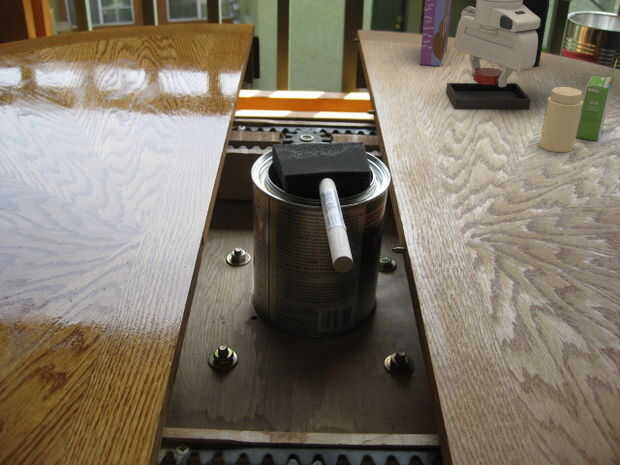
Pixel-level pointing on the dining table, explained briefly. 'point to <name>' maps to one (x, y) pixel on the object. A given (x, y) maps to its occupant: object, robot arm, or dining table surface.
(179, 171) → the dining table surface
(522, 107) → the tray
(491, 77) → the jar lid
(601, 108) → the ink box
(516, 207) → the dining table surface
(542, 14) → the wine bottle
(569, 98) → the jar
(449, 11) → the cereal box
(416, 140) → the dining table surface
